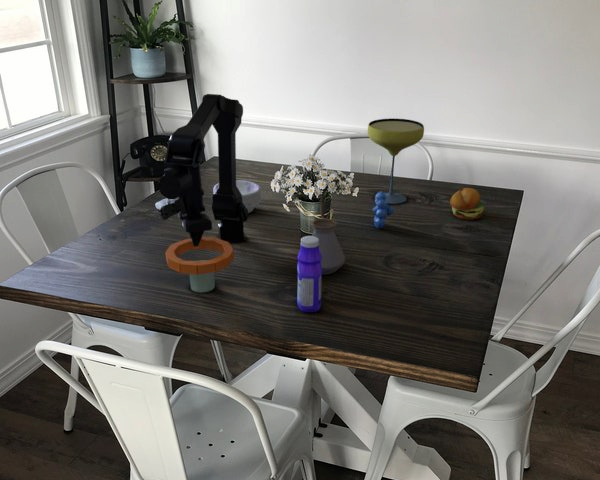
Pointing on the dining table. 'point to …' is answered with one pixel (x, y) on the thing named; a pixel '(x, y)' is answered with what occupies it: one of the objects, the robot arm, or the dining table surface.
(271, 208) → the dining table surface
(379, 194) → the grapes
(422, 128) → the cocktail glass
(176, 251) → the ring
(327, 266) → the coffee pot
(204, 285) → the cup
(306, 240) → the bottle
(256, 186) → the paper bowls
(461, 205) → the cheeseburger
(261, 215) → the dining table surface
